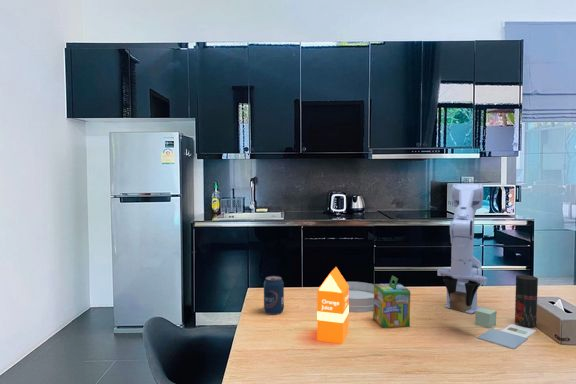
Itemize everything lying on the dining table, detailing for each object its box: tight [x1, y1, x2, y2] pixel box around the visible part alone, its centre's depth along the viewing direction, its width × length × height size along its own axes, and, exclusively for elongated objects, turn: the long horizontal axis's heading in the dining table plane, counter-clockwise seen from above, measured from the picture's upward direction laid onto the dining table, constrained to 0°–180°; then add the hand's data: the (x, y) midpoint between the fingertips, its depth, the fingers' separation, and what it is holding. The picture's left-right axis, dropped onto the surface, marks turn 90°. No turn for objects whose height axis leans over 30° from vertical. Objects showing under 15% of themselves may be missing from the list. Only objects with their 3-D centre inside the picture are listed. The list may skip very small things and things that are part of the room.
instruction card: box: [500, 323, 537, 338], centre depth 123 cm, size 7×9×1 cm
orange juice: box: [316, 266, 350, 344], centre depth 120 cm, size 8×9×20 cm
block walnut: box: [449, 291, 471, 313], centre depth 124 cm, size 4×4×4 cm
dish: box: [346, 281, 374, 313], centre depth 152 cm, size 22×22×5 cm
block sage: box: [474, 307, 497, 329], centre depth 129 cm, size 4×4×4 cm
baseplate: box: [477, 327, 528, 350], centre depth 118 cm, size 10×10×1 cm
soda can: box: [263, 275, 285, 316], centre depth 142 cm, size 7×7×12 cm
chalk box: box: [372, 275, 411, 329], centre depth 131 cm, size 9×9×15 cm
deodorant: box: [514, 274, 539, 329], centre depth 129 cm, size 6×6×15 cm
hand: (460, 303), depth 124 cm, fingers closed on block walnut, 4 cm apart
